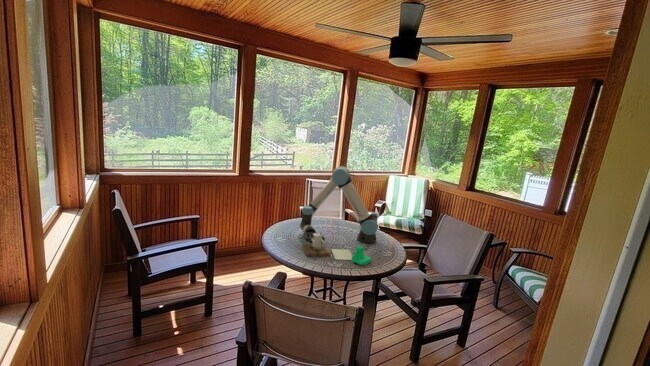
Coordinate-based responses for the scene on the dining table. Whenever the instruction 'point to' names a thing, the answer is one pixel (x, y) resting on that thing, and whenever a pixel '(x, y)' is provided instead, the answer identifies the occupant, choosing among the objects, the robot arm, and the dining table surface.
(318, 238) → the aluminium post
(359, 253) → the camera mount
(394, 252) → the dining table surface
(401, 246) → the dining table surface
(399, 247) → the dining table surface
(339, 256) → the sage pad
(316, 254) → the walnut socket
